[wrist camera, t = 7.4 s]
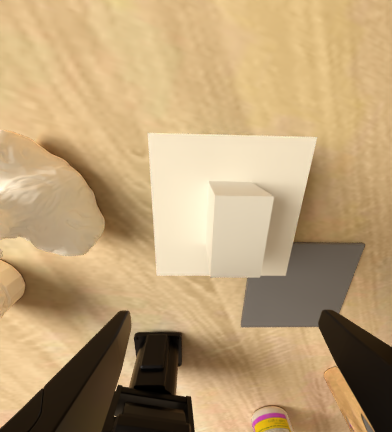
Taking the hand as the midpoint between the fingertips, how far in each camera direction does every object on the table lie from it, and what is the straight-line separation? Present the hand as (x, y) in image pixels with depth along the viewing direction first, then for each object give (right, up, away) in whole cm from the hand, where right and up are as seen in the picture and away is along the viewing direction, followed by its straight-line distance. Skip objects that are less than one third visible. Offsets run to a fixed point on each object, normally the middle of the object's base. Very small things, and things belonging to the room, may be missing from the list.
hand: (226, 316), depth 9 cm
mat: (+11, -4, +16) cm, 20 cm away
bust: (-15, +7, +11) cm, 20 cm away
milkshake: (+21, -20, +22) cm, 37 cm away
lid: (+1, +5, +6) cm, 8 cm away
